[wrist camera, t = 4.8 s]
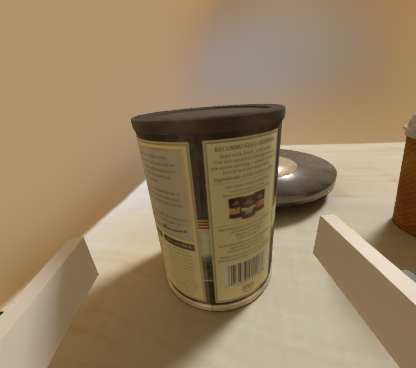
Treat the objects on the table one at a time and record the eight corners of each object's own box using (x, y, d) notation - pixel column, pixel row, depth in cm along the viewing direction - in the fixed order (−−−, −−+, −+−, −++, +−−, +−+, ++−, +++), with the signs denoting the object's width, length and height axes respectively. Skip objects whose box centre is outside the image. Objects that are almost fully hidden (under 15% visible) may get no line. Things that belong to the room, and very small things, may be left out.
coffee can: (208, 219, 26) (200, 105, 20) (287, 251, 20) (306, 101, 14) (142, 270, 19) (100, 117, 13) (233, 344, 13) (227, 119, 7)
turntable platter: (292, 150, 47) (293, 142, 46) (377, 198, 25) (382, 183, 24) (191, 159, 46) (190, 150, 45) (187, 214, 24) (185, 199, 23)
